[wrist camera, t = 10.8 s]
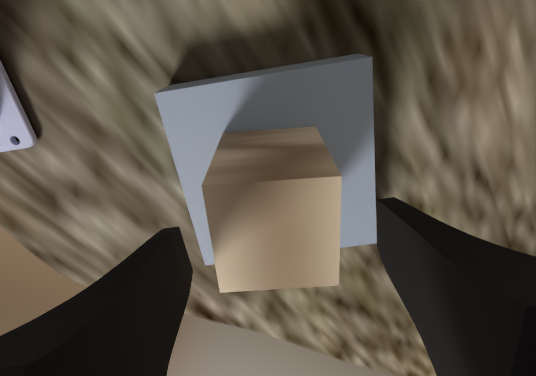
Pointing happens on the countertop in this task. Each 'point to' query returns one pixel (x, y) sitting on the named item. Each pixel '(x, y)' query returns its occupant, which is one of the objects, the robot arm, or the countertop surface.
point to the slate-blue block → (280, 117)
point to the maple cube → (273, 210)
